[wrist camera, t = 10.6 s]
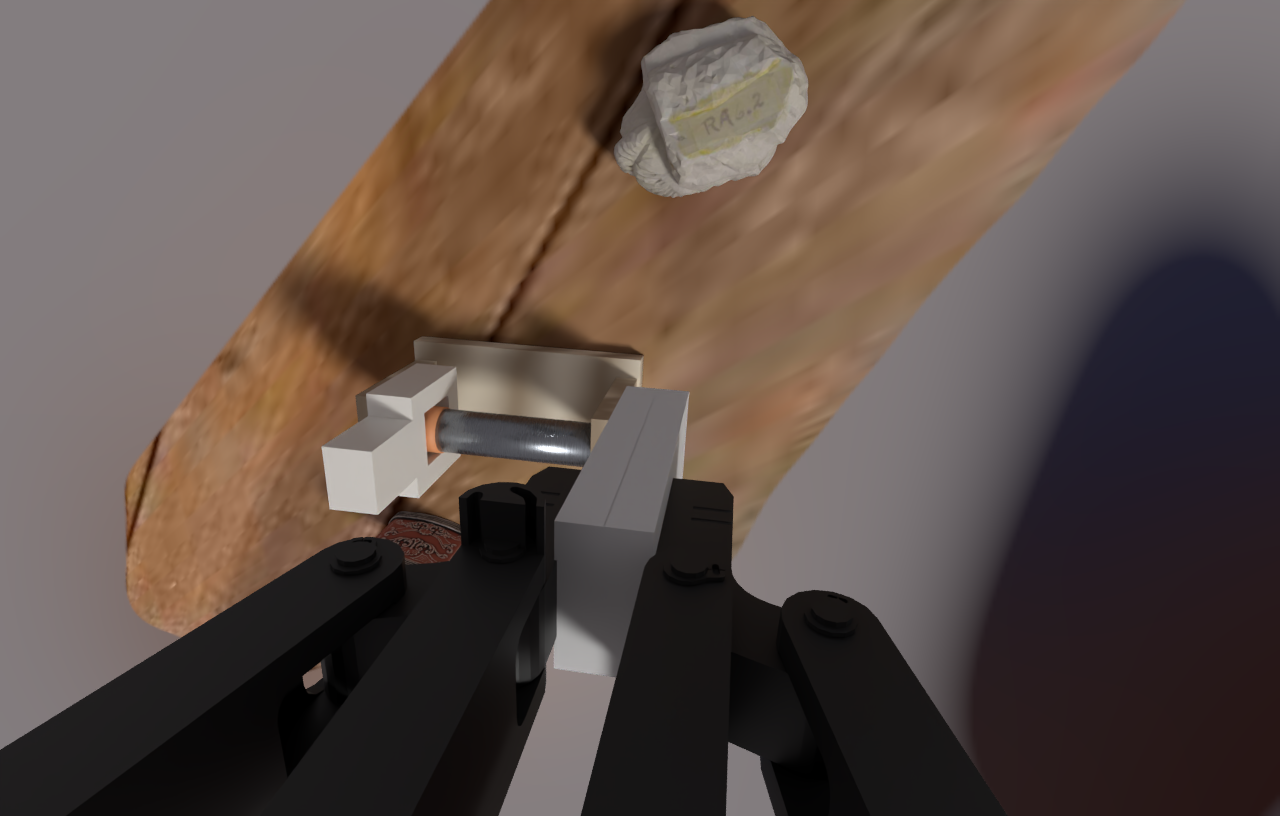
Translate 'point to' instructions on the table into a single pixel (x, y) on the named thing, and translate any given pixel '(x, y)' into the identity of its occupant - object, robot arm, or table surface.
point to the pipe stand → (522, 399)
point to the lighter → (423, 537)
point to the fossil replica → (711, 107)
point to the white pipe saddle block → (390, 443)
